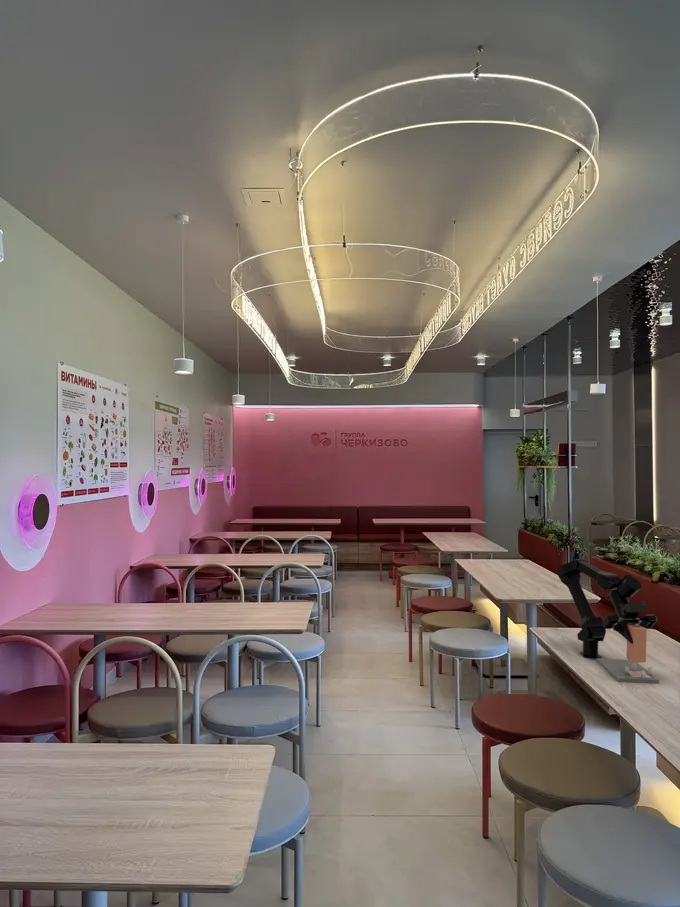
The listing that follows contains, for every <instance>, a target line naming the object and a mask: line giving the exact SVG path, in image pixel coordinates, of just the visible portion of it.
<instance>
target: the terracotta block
mask: <svg viewBox="0 0 680 907" xmlns="http://www.w3.org/2000/svg"><path fill="white" fill-rule="evenodd" d="M627 628H628V630H629V632H630V634H631V637H632V639H633V644H631V643H630V642H629V641H628V640H627V639H626V659H627V660H630V661H632V662H634V663H638V664H641V663H646V662H647V630H648V629H646V628H644V627H642V626H640V625H636V624H627Z"/></svg>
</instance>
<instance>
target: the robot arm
mask: <svg viewBox="0 0 680 907" xmlns="http://www.w3.org/2000/svg"><path fill="white" fill-rule="evenodd" d="M581 574H584V575H586V576H588V577H589V578H590V579H592V580H594V581H595V582H596V585H597V586H598V587H599V588H600V589H601V590H603V591H609V592H607V595H606V600H608V601H609V600H610V601H611V603H612V605H613V606H614V610H613V613H614V614H607V615H606V616H605V617H604V618H603V619H602V617H601V616H596V615H595V614H594V612H593V609H592V608H591V605H590V604H589V603H590V602H589V600H588V598H587V597H586V594H585V592H584V590H583V588H582V585H581V583H580V581H581ZM556 575H557V577H558V578H559V580H560V581H561V582H562V584H563V585H565V586H566V587H567V588H568V590H569V593H570V594H571V597H572V599H573V602H574V604H575V606H576V608H577V611H578V613H579V616H580V618H581V621H580V622H581V623H580V629H581V630H579V632H578V633H577V634H576V635H577V640H578V641H581V642H582V651H579V654H580V655H581V656H582V657H583V658H584V659H585V658H586V659H596V658H602V657H601V656H602V655H601V656H600V655H599V642H604V641H605V637H606V633H607V630H611V629H613V631H615V632H617V633H618V634H620V635H621V636H622V637H623V638H624V639H626V641H627V640H628V641H629V642H630V643H631V644H633V639H632V637H631V634H630V632H629V630H628V628H627V625H640V626H642V627H644V628H646V629H647V630H649V629H652V627H654V625H656V623H657V622H658V621H659V620H658V618H657V616H656V615H655V614H643V615H642V617H641V618H639V616H640V613H644V611H647V610H648V606H647V605H648V604H647V603H646V602H645V600H639V601H637V602H630V600H629V598H632V597H634V595H635V594H637V593H638V592H639V591H640V590H641V589H642V583H641V582H640V581H639V579H637V578H636V577H634V576H632V575H631V573H630V574H628V573H627V574H625V575H624V577H623V578H621V576H620V575H619V574H616V573H613V572H608V571H604V570H602V569H600V568H598V567H597V566H596V565H593V564H592V563H589V562H588V561H586V559H584V558H575V559H573V560H571V561H569V562H567V563H564V564H562V565H559V566H558V567H557V570H556ZM613 627H614V628H613Z"/></svg>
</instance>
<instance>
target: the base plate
mask: <svg viewBox="0 0 680 907" xmlns="http://www.w3.org/2000/svg"><path fill="white" fill-rule="evenodd" d="M595 659H596V660H595V661H596V662H597V664H599V665H600V666H601V667H602V668H603V669H604V670H605V671H606V672H607V673H608V674H609V675H611V677H613V678H614V679H615V680H616V681H617V682H618V683H619V682H626V683H640V684H641V683H642V684H660V679H658V678H657V677H656V676H655V675H653V667H649V666H648V667H647V669H646V668H644V667H643V666H642V665H641V663H634V662H632V661H630V660H629V659H627V658H625V659H624V658H623V659H621V658H603V657H601V658H595Z"/></svg>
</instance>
